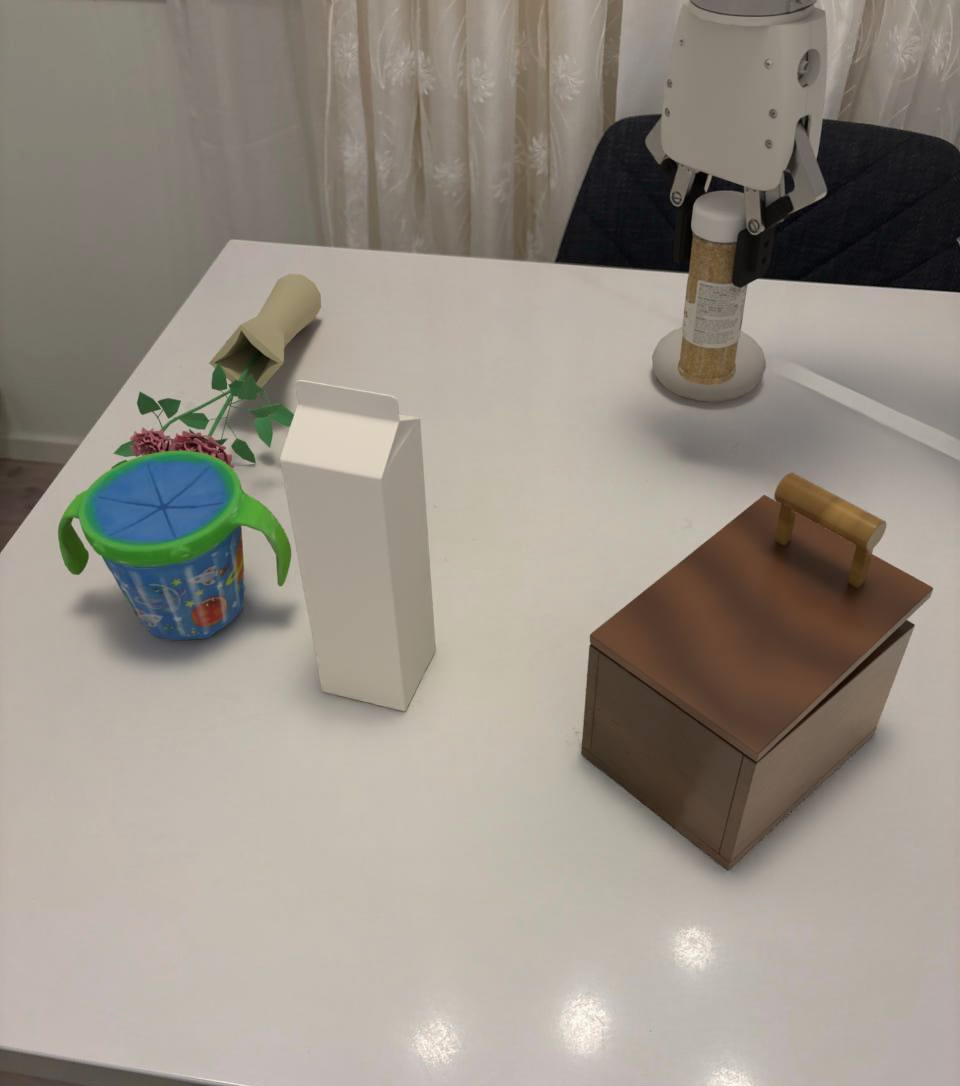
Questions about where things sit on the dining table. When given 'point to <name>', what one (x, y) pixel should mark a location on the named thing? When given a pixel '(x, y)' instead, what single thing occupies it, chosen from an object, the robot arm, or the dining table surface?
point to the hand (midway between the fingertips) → (719, 265)
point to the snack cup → (172, 539)
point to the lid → (765, 615)
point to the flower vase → (238, 377)
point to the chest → (726, 751)
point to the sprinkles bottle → (713, 290)
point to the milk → (361, 540)
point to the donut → (743, 381)
